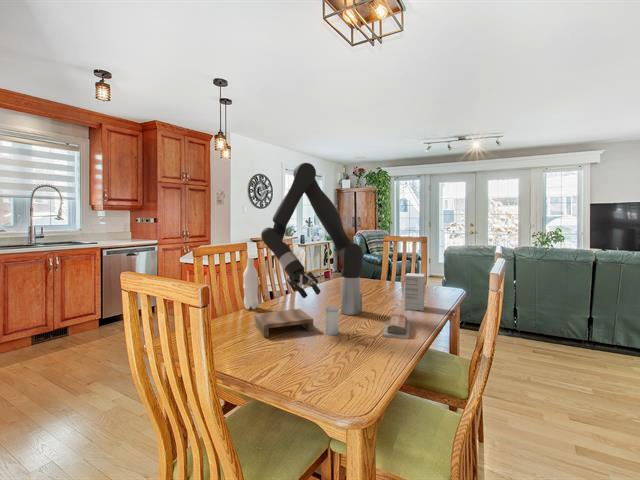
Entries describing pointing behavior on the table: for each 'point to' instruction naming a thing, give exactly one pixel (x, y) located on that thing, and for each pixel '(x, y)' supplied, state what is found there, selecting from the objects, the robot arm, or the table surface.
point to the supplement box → (414, 291)
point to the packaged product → (397, 327)
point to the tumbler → (332, 320)
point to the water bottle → (250, 285)
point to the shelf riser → (282, 320)
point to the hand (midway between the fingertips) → (312, 295)
